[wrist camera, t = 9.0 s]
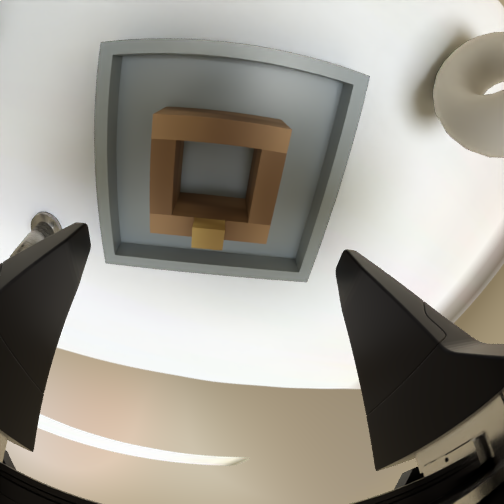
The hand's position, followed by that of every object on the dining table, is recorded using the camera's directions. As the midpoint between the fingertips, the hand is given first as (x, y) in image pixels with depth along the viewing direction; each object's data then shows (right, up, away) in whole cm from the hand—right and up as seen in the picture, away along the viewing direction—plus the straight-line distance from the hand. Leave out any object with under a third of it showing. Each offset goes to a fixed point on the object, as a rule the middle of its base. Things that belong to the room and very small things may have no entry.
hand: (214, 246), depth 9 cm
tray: (-1, +5, +7) cm, 9 cm away
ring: (-1, +5, +7) cm, 8 cm away
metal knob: (-15, +2, +8) cm, 17 cm away
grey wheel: (+15, +12, +4) cm, 19 cm away
